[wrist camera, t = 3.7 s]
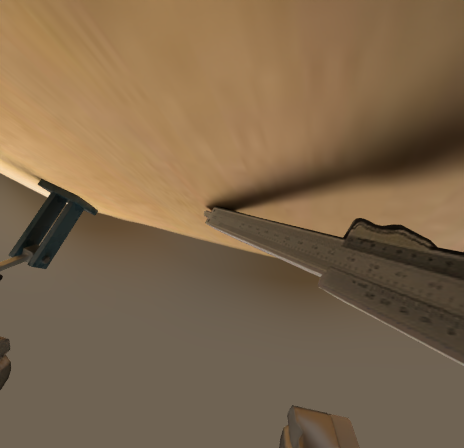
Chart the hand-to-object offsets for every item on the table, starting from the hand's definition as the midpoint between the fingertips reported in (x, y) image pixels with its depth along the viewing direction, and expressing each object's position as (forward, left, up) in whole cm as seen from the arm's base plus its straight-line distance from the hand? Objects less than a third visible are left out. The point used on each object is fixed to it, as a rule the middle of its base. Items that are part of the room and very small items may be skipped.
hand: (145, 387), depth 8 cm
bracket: (-14, -56, -9) cm, 58 cm away
